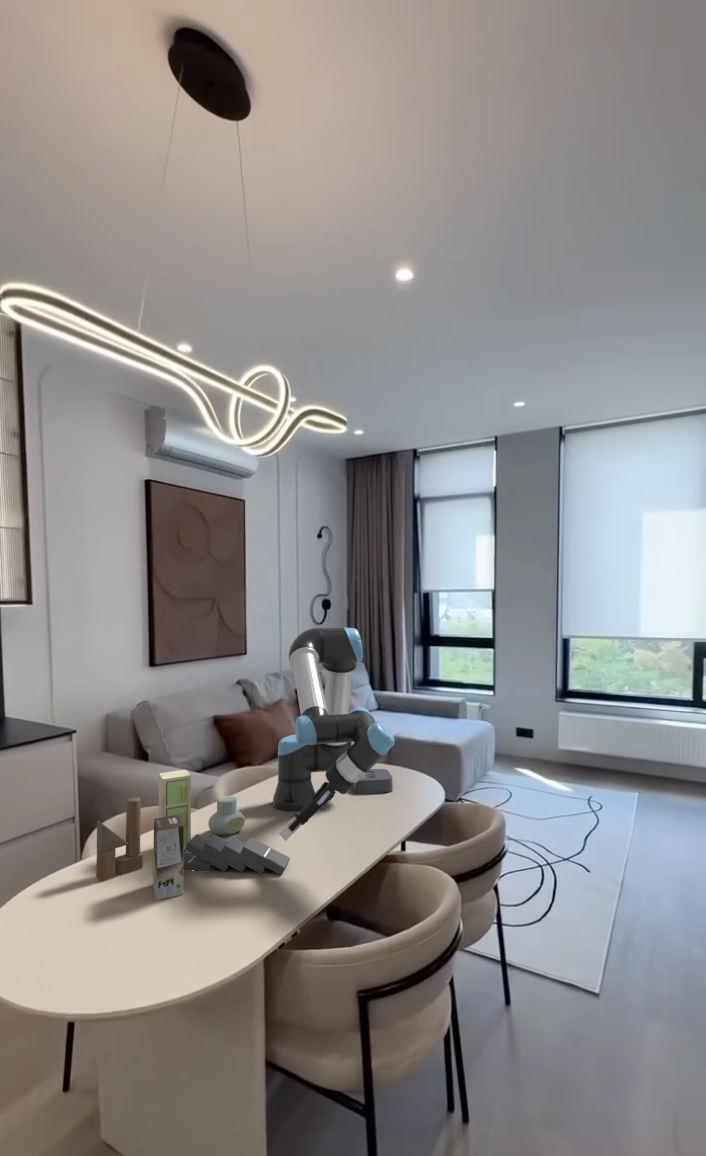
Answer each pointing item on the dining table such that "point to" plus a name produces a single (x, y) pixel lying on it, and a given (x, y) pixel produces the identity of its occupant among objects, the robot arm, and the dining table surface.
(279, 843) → the dining table surface
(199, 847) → the domino
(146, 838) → the dining table surface
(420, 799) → the dining table surface
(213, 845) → the domino
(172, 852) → the coffee box
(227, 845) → the domino
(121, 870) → the brown angular blocky piece
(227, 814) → the air freshener
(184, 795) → the toy refrigerator
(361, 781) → the streaming box
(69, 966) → the dining table surface
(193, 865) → the domino
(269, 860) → the domino
